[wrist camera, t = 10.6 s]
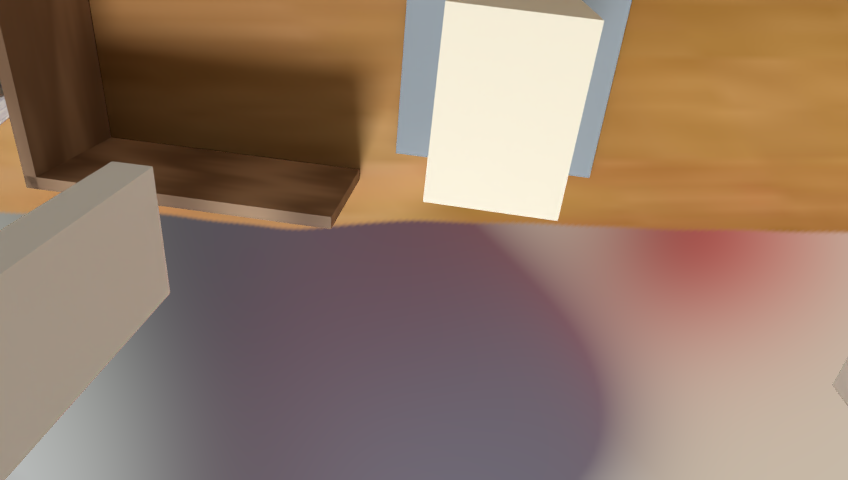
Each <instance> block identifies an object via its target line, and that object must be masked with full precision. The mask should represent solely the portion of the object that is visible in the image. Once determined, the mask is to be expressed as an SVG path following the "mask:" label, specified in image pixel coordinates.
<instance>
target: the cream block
mask: <svg viewBox="0 0 848 480" xmlns="http://www.w3.org/2000/svg"><path fill="white" fill-rule="evenodd" d="M603 24H604V20H603V19H602V18H601V17H600V16H599V15H598V14H597V13H596V12H594V11H593V10H592V9H591V8H590V7H589V6H588V5H587V4H586V3H584V2H583V1H582V0H446V1H445V8H444V17H443V26H442V35H441V44H440V53H439V62H438V71H437V80H436V89H435V98H434V107H433V116H432V125H431V134H430V143H429V152H428V161H427V170H426V179H425V188H424V198H423V202H429V203H436V204H443V205H450V206H457V207H464V208H471V209H478V210H485V211H492V212H499V213H506V214H513V215H520V216H527V217H534V218H541V219H548V220H555V221H558V217H559V213H560V208H561V204H562V200H563V196H564V191H565V187H566V183H567V178H568V174H569V170H570V166H571V161H572V157H573V153H574V148H575V144H576V140H577V136H578V131H579V127H580V123H581V119H582V114H583V110H584V106H585V101H586V97H587V93H588V89H589V84H590V80H591V76H592V71H593V67H594V63H595V59H596V54H597V50H598V46H599V41H600V37H601V33H602V29H603Z"/></svg>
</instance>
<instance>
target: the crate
mask: <svg viewBox="0 0 848 480" xmlns="http://www.w3.org/2000/svg"><path fill="white" fill-rule="evenodd" d="M0 81H1V85H2V89H3V93H4V97H5V101H6V106H7V110H8V114H9V118H10V122H11V126H12V130H13V134H14V138H15V142H16V146H17V150H18V154H19V158H20V162H21V166H22V170H23V174H24V178H25V182H26V187H27V188H34V189H42V190H49V191H56V192H63V191H65V190H66V189H68V188H70V187H71V186H73V185H74V184H76V183H78V182H79V181H81V180H82V179H84V178H86V177H87V176H89V175H91V174H92V173H94V172H95V171H97V170H99V169H100V168H102V167H104V166H105V165H107V164H108V163H110V162H112V161H114V162H121V163H129V164H137V165H145V166H153V173H154V180H155V187H156V194H157V201H158V205H159V206H166V207H174V208H181V209H188V210H196V211H203V212H210V213H218V214H225V215H232V216H240V217H247V218H254V219H262V220H269V221H276V222H284V223H291V224H298V225H306V226H313V227H320V228H328V229H331V228H332V226H333V225H334V223H335V221H336V219H337V218H338V216H339V214H340V212H341V211H342V209H343V207H344V205H345V204H346V202H347V200H348V198H349V197H350V195H351V193H352V191H353V190H354V188H355V186H356V185H357V183H358V181H359V172H360V170H359V169H351V168H344V167H336V166H328V165H321V164H313V163H305V162H298V161H290V160H282V159H274V158H267V157H259V156H251V155H244V154H236V153H228V152H220V151H213V150H205V149H197V148H190V147H182V146H174V145H167V144H159V143H151V142H143V141H136V140H128V139H120V138H113V137H111V133H110V127H109V121H108V115H107V109H106V103H105V97H104V91H103V85H102V79H101V73H100V67H99V61H98V55H97V49H96V43H95V37H94V31H93V25H92V19H91V13H90V7H89V1H88V0H0Z"/></svg>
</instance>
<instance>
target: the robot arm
mask: <svg viewBox="0 0 848 480" xmlns="http://www.w3.org/2000/svg"><path fill="white" fill-rule="evenodd" d="M169 294H170V288H169V281H168V274H167V266H166V259H165V252H164V245H163V238H162V230H161V223H160V216H159V209H158V201H157V194H156V187H155V180H154V173H153V166H145V165H137V164H129V163H121V162H114V161H112V162H110V163H108V164H107V165H105V166H104V167H102V168H100V169H99V170H97V171H95V172H94V173H92V174H91V175H89V176H87V177H86V178H84V179H82V180H81V181H79V182H78V183H76V184H74V185H73V186H71V187H70V188H68V189H66V190H65V191H63V192H61V193H60V194H58V195H57V196H55V197H53V198H52V199H50V200H48V201H47V202H45V203H44V204H42V205H40V206H39V207H37V208H35V209H34V210H32V211H31V212H29V213H27V214H26V215H24V216H23V217H21V218H19V219H18V220H16V221H15V222H13V223H11V224H10V225H8V226H7V227H5V228H3V229H1V230H0V480H5V479H6V478H7V477H8V476H9V475H10V474H11V472H12V471H13V470H14V469H15V468H16V467H17V465H18V464H19V463H20V462H21V461H22V460H23V459H24V458H25V457H26V455H27V454H28V453H29V452H30V451H31V450H32V449H33V448H34V446H35V445H36V444H37V443H38V442H39V441H40V440H41V438H42V437H43V436H44V435H45V434H46V433H47V432H48V431H49V429H50V428H51V427H52V426H53V425H54V424H55V423H56V422H57V420H58V419H59V418H60V417H61V416H62V415H63V414H64V412H65V411H66V410H67V409H68V408H69V407H70V406H71V405H72V403H73V402H74V401H75V400H76V399H77V398H78V397H79V396H80V394H81V393H82V392H83V391H84V390H85V388H87V386H88V385H89V384H90V383H91V382H92V381H93V380H94V379H95V377H96V376H97V375H98V374H99V373H100V372H101V371H102V369H103V368H104V367H105V366H106V365H107V364H108V363H109V362H110V360H111V359H112V358H113V357H114V356H115V355H116V354H117V353H118V351H119V350H120V349H121V348H122V347H123V346H124V345H125V344H126V342H127V341H128V340H129V339H130V338H131V337H132V335H133V334H134V333H135V332H136V331H137V330H138V329H139V328H140V326H141V325H142V324H143V323H144V322H145V321H146V320H147V319H148V317H149V316H150V315H151V314H152V313H153V312H154V311H155V310H156V308H157V307H158V306H159V305H160V304H161V303H162V302H163V301H164V299H165V298H166V297H167V296H168V295H169ZM833 387H834V388H835V389H836V391H837V392H838V394H839V395H840V396H841V398H842V399H843V400H844V402H845V403H846V405H847V406H848V358H847V360H846V361H845V363H844V365H843V367H842V369H841V370H840V372H839V374H838V376H837V378H836V379H835V381H834V383H833Z"/></svg>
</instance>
